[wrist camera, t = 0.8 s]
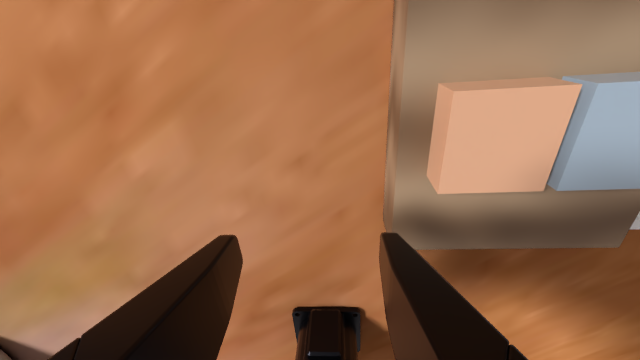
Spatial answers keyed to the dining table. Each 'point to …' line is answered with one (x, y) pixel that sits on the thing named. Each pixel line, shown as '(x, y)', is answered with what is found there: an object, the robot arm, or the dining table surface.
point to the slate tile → (601, 135)
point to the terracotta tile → (498, 134)
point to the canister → (4, 356)
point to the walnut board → (499, 64)
